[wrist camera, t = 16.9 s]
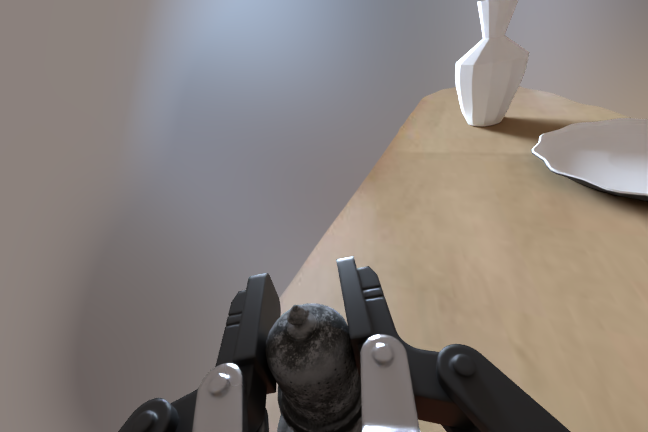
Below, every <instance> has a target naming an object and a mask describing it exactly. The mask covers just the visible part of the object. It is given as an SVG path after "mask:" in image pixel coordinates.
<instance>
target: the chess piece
mask: <svg viewBox="0 0 648 432" xmlns="http://www.w3.org/2000/svg"><path fill="white" fill-rule="evenodd" d="M265 353H266V359H267V363H268V367H269V369H270V371H271V373H272V375H273V376H274V378H275V380H276V382H277V384H278V385H279V386H278V403H279V408H280V412H281V416H280V420H279V424H278V428H277V432H362V396H361V377H359V374H358V370H357V366H356V361H355V357H354V353H353V348H352V344H351V339H350V334H349V328H348V325H347V323H346V322H345V320H344V318H343V317H342V316H341V315H340V314H339V313H338V312H337V311H336V310H334V309H332V308H330V307H328V306H325V305H320V304H303V305H294V306H293V307H292V308H291V309H290V310H288V311H287V312H285V313H284V314H283V315H282V316H281V317H280V318H279V319H278V320H277V321H276V322H275V324H274V325H273V327H272V328H271V330H270V332H269V334H268V337H267V340H266V349H265Z"/></svg>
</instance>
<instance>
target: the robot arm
mask: <svg viewBox="0 0 648 432" xmlns="http://www.w3.org/2000/svg"><path fill="white" fill-rule="evenodd" d="M336 261H337V266H338V272H339V278H340V283H341V289H342V295H343V300H344V306H345V311H346V317H347V323H348V328H349V334H350V339H351V344H352V348H353V353H354V357H355V361H356V366H357V370H358V374H359V377H361V396H362V432H420V429H419V424H418V419H419V420H423V421H428V422H432V423H437V424H441V425H442V426H443V428H444V429H445V430H446V431H447V432H570V431H569V430H568V429H567V428H566V427H565V426H563V425H562V424H561V423H560V422H559V421H558V420H557V419H555V418H554V417H553V416H552V415H551V414H550V413H548V412H547V411H546V410H545V409H544V408H543V407H542V406H540V405H539V404H538V403H537V402H536V401H535V400H533V399H532V398H531V397H530V396H529V395H528V394H527V393H525V392H524V391H523V390H522V389H521V388H520V387H519V386H517V385H516V384H515V383H514V382H513V381H512V380H510V379H509V378H508V377H507V376H506V375H505V374H504V373H502V372H501V371H500V370H499V369H498V368H497V367H495V366H494V365H493V364H492V363H491V362H490V361H489V360H487V359H486V358H485V357H484V356H483V355H482V354H480V353H479V352H478V351H477V350H475V349H473V348H471V347H469V346H466V345H461V344H452V345H448V346H446V347H444V348H443V349H442V350H441V351H440V352H435V351H427V350H421V349H417V348H414V347H412V346H410V345H408V344H407V343H405V342H404V341H403V340H402V339H401V338H400V337H399V335H398V334H397V332H396V329H395V326H394V323H393V320H392V317H391V314H390V311H389V308H388V305H387V303H386V300H385V297H384V294H383V291H382V288H381V285H380V282H379V279H378V276H377V274H376V273H375V272H374V271H373V270H372V269H371V268H370V267H369V266H367V267H362V268H356V264H355V260H354V257H353V256H351V257H346V258H341V259H336ZM280 313H281V309H280V301H279V297H278V295H277V292H276V290H275V287H274V285H273V283H272V280H271V278H270V275H269V274H268V273H264V274H260V275H255V276H250V277H249V279H248V283H247V288H246V290H244V291H239V292H238V294H237V295H236V296H235V298H234V299H233V301H232V302H231V306H230V310H229V317H228V319H227V322H226V327H225V331H224V334H223V339H222V343H221V347H220V351H219V355H218V359H217V363H216V366H215V368H214V369H212V370H211V371H210V372H209V373H208V374H207V375H206V376H205V377H204V379H203V380H202V382H201V384H200V386H199V388H198V389H197V390H195V391H193V392H192V393H190V394H188V395H186V396H184V397H182V398H180V399H179V400H176V401H175V402H173V403H171V404H170V403H169V402H167V400H165V399H162V398H155V399H152V400H149V401H147V402H145V403H144V404H142V405H141V406H140V407H139V408H137V409H136V410H135V411H134V412H133V414H132V415H131V416H130V417H129V418H128V420H127V421H126V422H125V424H124V425H123V426H122V427H121V429H120V430H119V431H118V432H269V424H268V413H267V410H266V408H265V406H266V394H270V393H275V392H276V380H275V378H274V376H273V375H272V373H271V371H270V369H269V367H268V363H267V359H266V353H265V349H266V340H267V337H268V334H269V332H270V330H271V328H272V327H273V325H274V324H275V322H276V321H277V320H278V319H279V318H280Z"/></svg>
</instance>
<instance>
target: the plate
mask: <svg viewBox="0 0 648 432" xmlns="http://www.w3.org/2000/svg"><path fill="white" fill-rule="evenodd" d="M531 151H532V154H534V155H535V156H537V157H538V158H540V159H541V160H543V161H544V163H545V164H546V166H547V167H548V169H549V170H550V171H552V172H554V173H556V174H558V175H562V176H566V177H568V178H569V179H571V180H574V181H576V182H578V183H581V184H583V185H585V186H588V187H590V188H594V189H597V190H600V191H604V192H607V193H611V194H614V195H618V196H623V197H629V198H634V199H639V200H644V201H648V119H637V118H617V119H611V120H604V121H597V122H582V123H574V124H570V125H568V126H565V127H563V128H561V129H559V130H555V131H551V132H547V133H544V134H542V135H540V136H539V143H538V144H537V145H536V146H535V147H534V148H533V149H532V150H531Z"/></svg>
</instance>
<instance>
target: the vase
mask: <svg viewBox="0 0 648 432" xmlns="http://www.w3.org/2000/svg"><path fill="white" fill-rule="evenodd" d="M517 3H518V0H484V1H480V2H478V9H479V15H480V21H481V28H482V33H483V39H482V40H481V41H480V42H479V43H478V44H477V45H476V46H474V47H473V48H472V49H471V50H470V51H469V52H468V53H466V54H465V55H464V56H463V57H462V58H461V59H460V60H459V61H457V62H456V72H455V79H456V88H457V93H458V97H459V102H460V106H461V111H462V113H463V115H464V116H465V119H466V121H467V123H468V124H469V125H473V126H483V127H484V126H490V125H494V124H497V123H500V122H501V120H502V119H503V117H504V116H505V114H506V112H507V110H508V108H509V106H510V104H511V102H512V99H513V97H514V95H515V93H516V91H517V89H518V87H519V85H520V83H521V81H522V78H523V76H524V73H525V70H526V67H527V62H528V57H529V52H528V51H526V50H525V49H524V48H522V47H520V46H519V45H518V44H516V43H515V42H514V41H512V40H511V39H509V38H508V37H506V36H505V32H506V30H507V28H508V25H509V23H510V20H511V17H512V15H513V12H514V10H515V7H516V5H517Z"/></svg>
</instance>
